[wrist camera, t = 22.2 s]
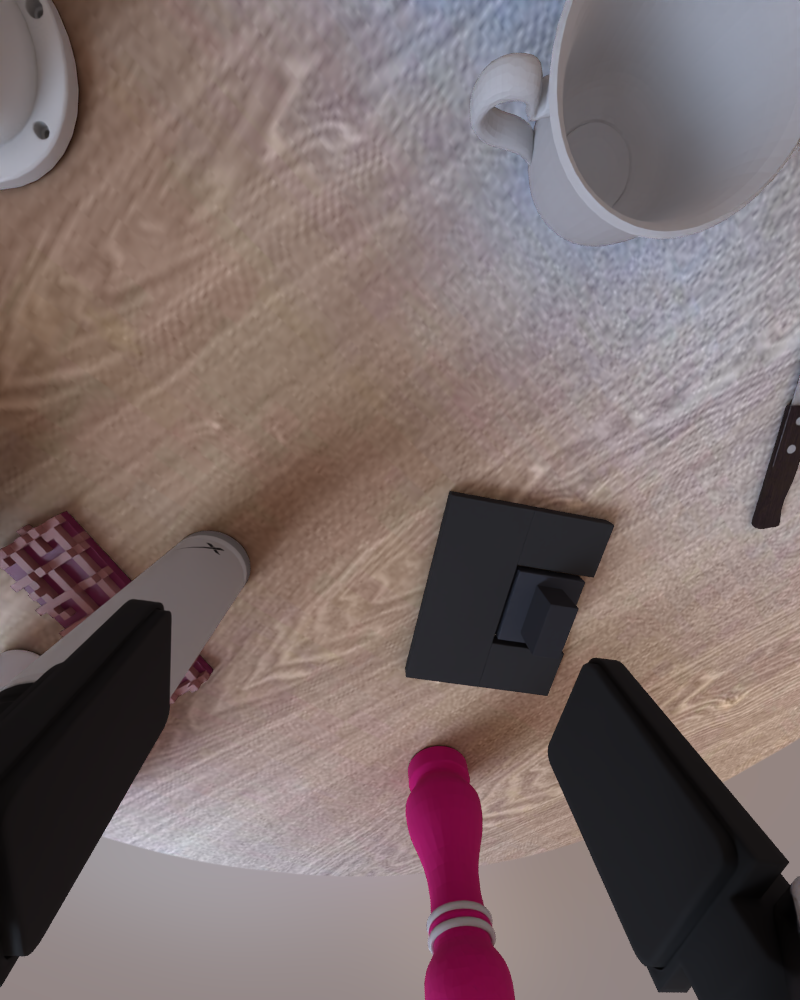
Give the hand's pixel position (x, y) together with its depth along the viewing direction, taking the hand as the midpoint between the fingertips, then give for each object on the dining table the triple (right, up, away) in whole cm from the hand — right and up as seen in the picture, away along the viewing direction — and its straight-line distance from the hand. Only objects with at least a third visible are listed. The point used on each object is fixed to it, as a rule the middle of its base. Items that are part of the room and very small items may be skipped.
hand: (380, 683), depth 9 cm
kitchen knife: (+33, +10, +22) cm, 41 cm away
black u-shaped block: (+10, -5, +26) cm, 29 cm away
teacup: (+11, +25, +17) cm, 32 cm away
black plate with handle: (+13, -5, +27) cm, 30 cm away
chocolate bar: (-25, -6, +25) cm, 36 cm away
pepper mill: (+4, -24, +33) cm, 41 cm away
